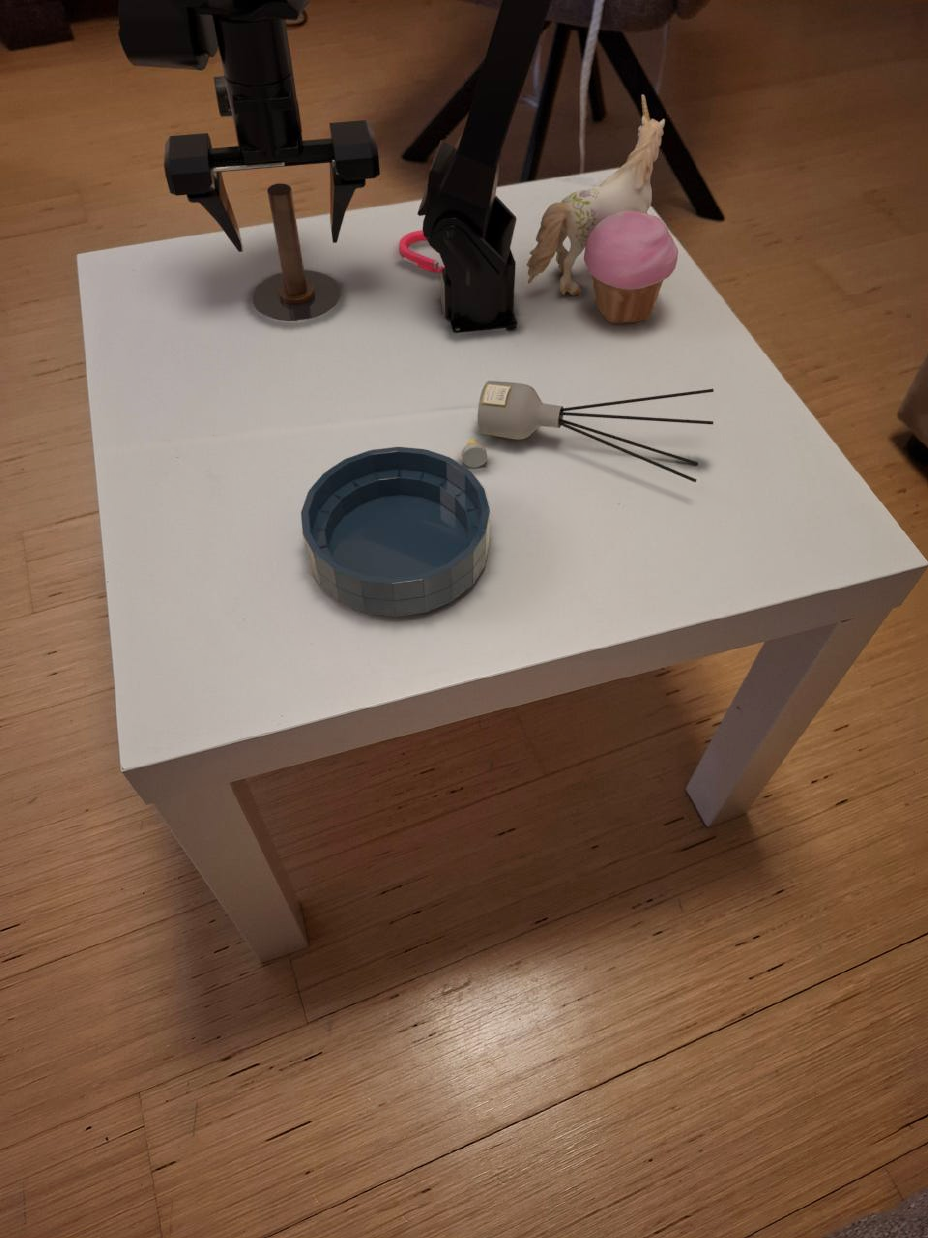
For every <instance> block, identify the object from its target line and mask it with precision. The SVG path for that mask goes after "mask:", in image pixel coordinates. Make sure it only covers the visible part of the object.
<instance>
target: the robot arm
mask: <svg viewBox="0 0 928 1238" xmlns="http://www.w3.org/2000/svg"><path fill="white" fill-rule="evenodd" d="M309 2H310V0H118V12H117V13H118V25H119V28H118V30H117V34H118V38H119V42H120V46H121V48H122V51H123V53H124V55H125V57H126V58H127V60H128V62H130V64H132V65H133V66H134V67H137V68H152V69H153V68H154V69H169V70H184V71H200V72H201V71H203V70H205V69H206V67H207V65H208V63H209V59H210V58H214V57H215V56H216V54H217V52H218V51H219V52H218V53H219V57H220V62H221V67H222V71H223V75H219V76H213V83H214V90H215V97H216V103H217V108H218V112H219V116H220V117H221V118H225V117H232V122H233V126H234V132H235V137H236V142H237V145H235V146H234V145H233V146H222V147H213V146H212V141H211V138H210V135H209V133H208V132H203V133H191V134H190V133H189V134H179V135H177V134H176V135H169V137H168V138H167V140H166V142H165V144H164V157H163V168H164V175H165V179H166V182H167V186H168V190H169V193H170V194H171V195H173V196H176V197H177V196H178V197H179V196H186V198H187V201H188V202H189V203H192V204H197V203H198V204H200V205H201V206H202V208H204V210H205V211H206V212H207V213H208V214H209V216H211V217H212V219H214V221H216V222H217V224H218V225H219V226H220V228H221V230H223V232H224V233H225V235H226V236H227V238H228V239H229V240H230V242H231V243H232V245H233V246H234V249H236V250H237V252H238V253H242V252H243V251H244V249H243V247H244V246H243V242H242V236H241V231H240V229H239V225H238V221H237V219H236V216H235V213H234V210H233V208H232V204H231V201H230V198H229V195H228V192H227V188H226V186H225V181H224V177H223V174H222V173H225V172H236V171H237V172H238V171H249V170H261V169H273V168H283V167H295V166H308V165H318V164H329V199H330V200H329V223H330V233H331V239H332V243H333V244H337V243H338V240H339V237H340V233H341V229H342V226H343V222H344V218H345V215H346V212H347V210H348V207H349V204H350V202H351V200H352V198H353V196H354V194H355V192H356V190H357V189H362V188H363V189H364V188H365V187H366V186H367V180H368V179H369V180H370V179H371V180H372V179H375V178H377V177H379V176H380V175H381V169H380V158H379V157H380V156H379V149H378V144H377V140H376V135H375V131H374V127H373V125H371V123H369V121H368V120H366V119H363V120H362V119H360V120H348V121H338V122H337V121H336V122H329V133H330V137H329V138H316V139H306V140H305V139H304V140H303V128H302V121H301V113H300V107H299V100H298V98H297V91H296V84H295V76H294V72H293V71H294V70H293V63H292V55H291V51H290V49H291V48H290V42H289V35H288V29H287V22H286V21H297V20H298V19H299V18H300V16H301V15H302V13H303V12H304V11H305V8H307V5H309ZM552 2H553V0H501V4H500V5H499V6H500V7H499V9H498V14H497V16H496V20H495V24H494V27H493V30H492V33H491V36H490V40H489V44H488V47H487V50H486V54H485V57H484V60H483V64H482V67H481V71H480V74H479V77H478V81H477V84H476V88H475V90H474V94H473V97H472V100H471V105H470V107H469V111H468V114H467V118H466V121H465V124H464V128H463V131H462V132H461V135H460V136H459V138H458V140H457V142H456V143H455V145H451V144H450V143H448V142H447V141H445V140H443V139H441V140H440V141H439V144H438V147H437V150H436V153H435V156H434V159H433V162H432V164H431V166H430V170H429V173H428V180H427V185H426V188H425V191H424V193H423V197H422V199H421V202H420V204H419V207H418V210H417V215H418V216H419V217H424V218H423V221H422V230H423V235H424V237H425V238H426V239H427V240H426V241H427V243H428V245H429V246H430V247H431V248H432V249H433V251H435V252H436V253H438V254H439V257H440V259H441V261H442V264H443V267H445V268H442V269H441V273H440V303H441V304H440V305H441V308H442V312H443V317H444V319H445V320H446V321H449V323H450V326H451V330H452V332H453V333H455V334H462V333H471V332H481V331H491V330H501V329H505V330H506V331H510V330H516V329H517V328H518V320H517V317H516V314H515V310H514V308H515V307H514V306H515V289H516V287H515V286H516V265H517V264H516V263H517V262H516V260H515V257H514V254H513V252H512V249H511V246H512V242H513V236H514V233H515V227H516V225H517V219H518V218H517V216H516V215H515V214H514V213H513V212H512V211H511V210H510V208H509V207H507V205H506V204H505V203H504V202H503V201H502V200H501V199H500V198H499V197H498V196H497V187H498V181H499V175H500V168H501V159H502V157H501V156H502V149H503V147H504V144H505V142H506V138H507V135H508V132H509V129H510V126H511V123H512V120H513V118H514V114H515V111H516V109H517V106H518V103H519V100H520V96H521V94H522V91H523V88H524V85H525V82H526V79H527V76H528V73H529V71H530V67H531V64H532V61H533V58H534V55H535V52H536V49H537V46H538V43H539V41H540V38H541V34H542V32H543V29H544V27H545V26H544V25H545V23H546V20H547V16H548V14H549V11H550V8H551V5H552Z"/></svg>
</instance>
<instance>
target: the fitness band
mask: <svg viewBox="0 0 928 1238" xmlns="http://www.w3.org/2000/svg"><path fill="white" fill-rule="evenodd" d="M421 241H427V239H426V238H425V237H424V235H423V229H420V230H415V231H411V232H409V233H406V234H405V235H403V236H402V237H401V238H400V240H399V243H398V247H399V252H400V254H401V255H402V256H403V258H402V260H403V261H405V262H407V263H409V264H411V265H414V266H416V267H418V268H420V269H423V270H425V271H428V272H432V273H438V274H441V269H442V268H445V267H444V266H439V260H436V259H434V258H430V257H428V256H425V255H422V254H420V253H417V252H415V251H412V250H411V249H410V248H409V247H408V246H409V245H411V244H413V243H416V242H421Z"/></svg>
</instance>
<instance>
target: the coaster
mask: <svg viewBox="0 0 928 1238" xmlns="http://www.w3.org/2000/svg"><path fill="white" fill-rule="evenodd" d="M304 273H305V279H306V281H308V282H310V283H311V284H312V285H313V286H314V292H315V294H314V297H313V298H312V299H311V300H310V301H308V302H306V303H303V304H298V305H292V304H287V303H285V302H283V301H282V300H281V299H280V297H279V292H278V291H279V288H280V286H281V285H282V284H283V283H284V280H283V275H282V272H279V273H275V274H273V275H270V276H269V277H267V278H266V279H264V280H262V281H261V282H260V283H259V284H258V285H257V286H256V288H254V291H253V292H252V299H251V300H252V304H253V306H254V308H255V309H256V310H257V311H258V312H259V313H260V314H261V315H263V316H265V317H267V318H270V319H272V320H277V321H282V322H300V321H306V320H310V319H314V318H315V319H316V318H317V317H319V316H320V317H321V316H322V315H324V314H326V313H328V312H329V311H330V310H332V309H333V308H334V307H336V305H337V304H338V302H339V301H340V298H341V292H342V291H341V287H340V285H339V283H338V282H337V281H336V280H335V279H334V278H332V277H331V276H330V275H328V274H326V273H324V272H320V271H316V270H310V269H304Z"/></svg>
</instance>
